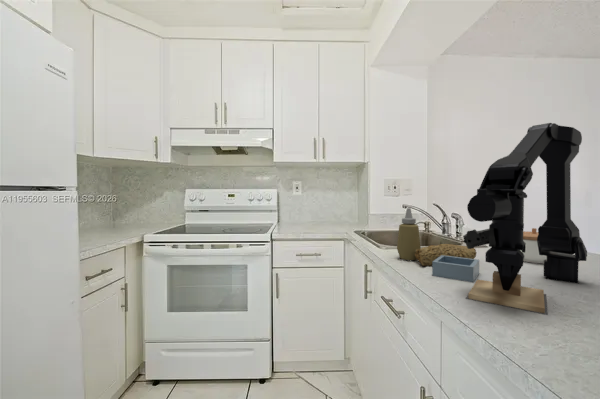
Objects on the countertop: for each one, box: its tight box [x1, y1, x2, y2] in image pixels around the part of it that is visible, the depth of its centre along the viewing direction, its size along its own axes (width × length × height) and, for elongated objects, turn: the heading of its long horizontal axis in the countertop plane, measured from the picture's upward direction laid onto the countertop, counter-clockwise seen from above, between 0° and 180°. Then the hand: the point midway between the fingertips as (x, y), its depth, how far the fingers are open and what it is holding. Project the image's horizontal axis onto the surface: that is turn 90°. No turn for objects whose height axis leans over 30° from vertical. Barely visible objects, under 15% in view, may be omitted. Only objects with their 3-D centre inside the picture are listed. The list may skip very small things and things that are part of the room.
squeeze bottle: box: [396, 207, 422, 261], centre depth 104 cm, size 8×8×18 cm
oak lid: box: [467, 270, 545, 313], centre depth 66 cm, size 13×13×5 cm
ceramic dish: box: [431, 255, 480, 283], centre depth 83 cm, size 10×10×4 cm
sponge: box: [415, 243, 477, 267], centre depth 97 cm, size 13×8×20 cm
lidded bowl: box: [520, 227, 547, 264], centre depth 100 cm, size 13×13×11 cm
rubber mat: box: [465, 289, 549, 316], centre depth 66 cm, size 14×14×1 cm
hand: (506, 288), depth 66 cm, fingers closed on oak lid, 3 cm apart
